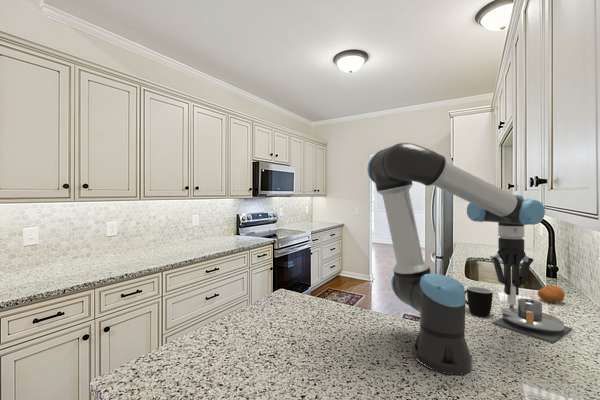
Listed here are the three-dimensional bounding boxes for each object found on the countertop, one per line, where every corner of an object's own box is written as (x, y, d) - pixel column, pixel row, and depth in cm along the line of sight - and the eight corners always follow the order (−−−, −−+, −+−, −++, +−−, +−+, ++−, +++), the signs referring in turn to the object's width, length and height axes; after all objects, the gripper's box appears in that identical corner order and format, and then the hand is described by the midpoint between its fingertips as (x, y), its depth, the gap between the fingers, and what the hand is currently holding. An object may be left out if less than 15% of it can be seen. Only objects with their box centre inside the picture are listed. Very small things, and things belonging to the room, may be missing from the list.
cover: (537, 323, 101) (537, 304, 101) (514, 316, 107) (514, 298, 107) (545, 319, 105) (545, 301, 105) (522, 312, 110) (522, 295, 111)
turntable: (554, 336, 94) (554, 319, 94) (493, 317, 109) (493, 303, 109) (571, 324, 104) (571, 309, 104) (513, 308, 119) (513, 295, 119)
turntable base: (553, 343, 93) (553, 337, 93) (492, 323, 109) (492, 318, 109) (572, 329, 104) (572, 324, 104) (514, 313, 119) (514, 308, 120)
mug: (497, 316, 116) (497, 291, 116) (482, 319, 113) (482, 293, 113) (470, 306, 127) (470, 283, 127) (455, 309, 124) (455, 285, 124)
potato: (571, 304, 132) (571, 288, 132) (552, 306, 129) (552, 289, 129) (549, 298, 141) (549, 282, 141) (531, 299, 138) (531, 284, 138)
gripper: (495, 238, 100) (496, 306, 100) (538, 239, 97) (539, 308, 97) (486, 236, 107) (486, 299, 107) (525, 236, 105) (526, 301, 104)
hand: (511, 303), depth 102 cm, fingers closed
